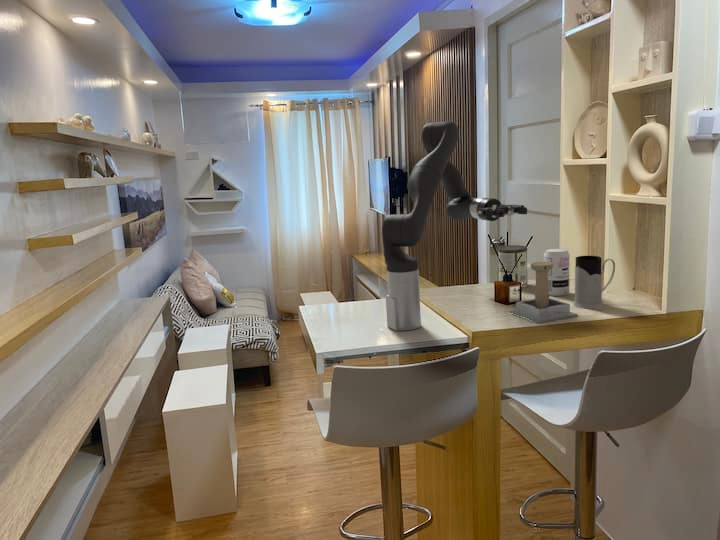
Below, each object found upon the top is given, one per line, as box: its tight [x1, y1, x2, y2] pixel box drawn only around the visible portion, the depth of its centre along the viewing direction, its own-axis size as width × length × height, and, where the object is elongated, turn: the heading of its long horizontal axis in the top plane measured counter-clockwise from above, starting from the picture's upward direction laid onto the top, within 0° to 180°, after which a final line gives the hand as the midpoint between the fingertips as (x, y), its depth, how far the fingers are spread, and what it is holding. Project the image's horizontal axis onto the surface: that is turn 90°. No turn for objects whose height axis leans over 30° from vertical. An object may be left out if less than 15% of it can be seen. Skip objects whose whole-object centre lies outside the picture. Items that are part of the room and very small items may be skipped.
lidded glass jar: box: [497, 244, 529, 289], centre depth 219 cm, size 10×10×14 cm
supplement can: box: [543, 248, 571, 297], centre depth 203 cm, size 8×8×15 cm
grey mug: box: [572, 255, 616, 309], centre depth 188 cm, size 9×14×15 cm, turn 108°
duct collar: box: [508, 297, 578, 325], centre depth 180 cm, size 14×14×4 cm
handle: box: [530, 261, 553, 308], centre depth 179 cm, size 5×6×15 cm
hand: (514, 212), depth 187 cm, fingers open, 8 cm apart
